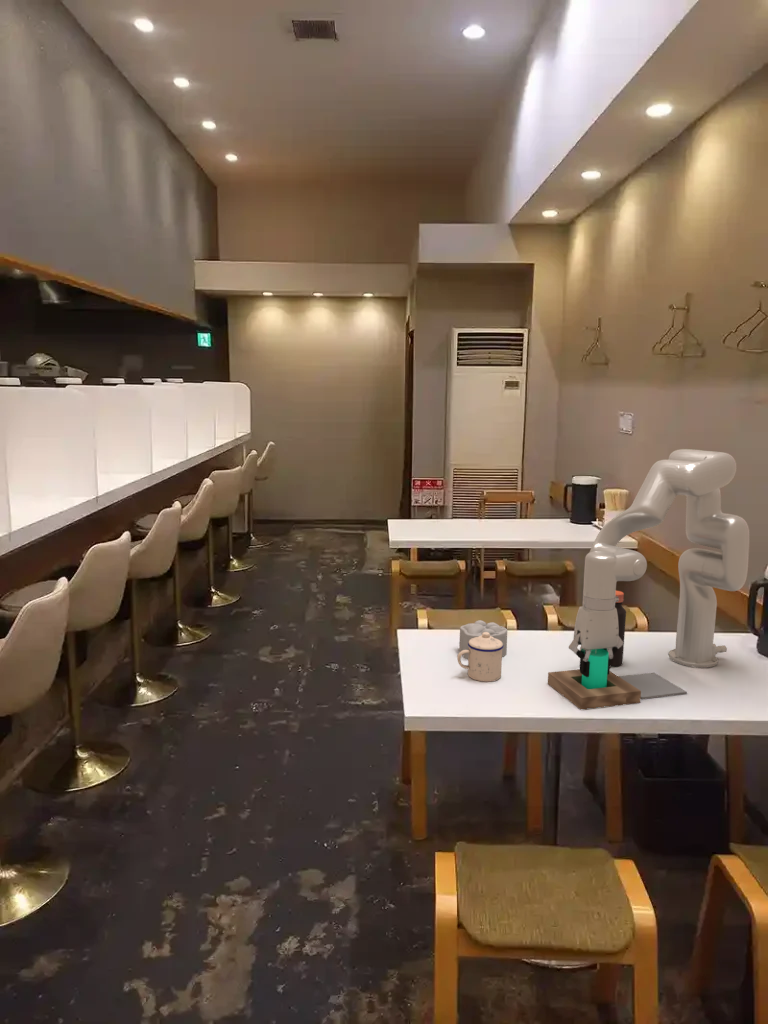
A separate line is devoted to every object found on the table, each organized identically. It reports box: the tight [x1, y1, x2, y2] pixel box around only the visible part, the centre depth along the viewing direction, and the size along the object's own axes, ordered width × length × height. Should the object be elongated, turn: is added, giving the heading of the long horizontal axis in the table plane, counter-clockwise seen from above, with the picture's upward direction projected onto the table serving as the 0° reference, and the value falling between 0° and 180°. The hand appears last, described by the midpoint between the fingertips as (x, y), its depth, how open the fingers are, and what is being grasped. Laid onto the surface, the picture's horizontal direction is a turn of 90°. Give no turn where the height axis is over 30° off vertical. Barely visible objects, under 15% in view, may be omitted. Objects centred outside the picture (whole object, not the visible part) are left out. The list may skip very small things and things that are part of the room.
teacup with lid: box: [456, 632, 503, 683], centre depth 189 cm, size 12×9×12 cm
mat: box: [618, 672, 688, 700], centre depth 185 cm, size 13×13×1 cm
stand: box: [547, 668, 641, 710], centre depth 180 cm, size 16×16×3 cm
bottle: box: [610, 590, 627, 668], centre depth 199 cm, size 7×7×20 cm
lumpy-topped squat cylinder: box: [458, 619, 508, 660], centre depth 206 cm, size 10×13×9 cm
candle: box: [581, 649, 609, 689], centre depth 179 cm, size 6×6×12 cm
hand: (594, 673), depth 180 cm, fingers closed on candle, 4 cm apart
